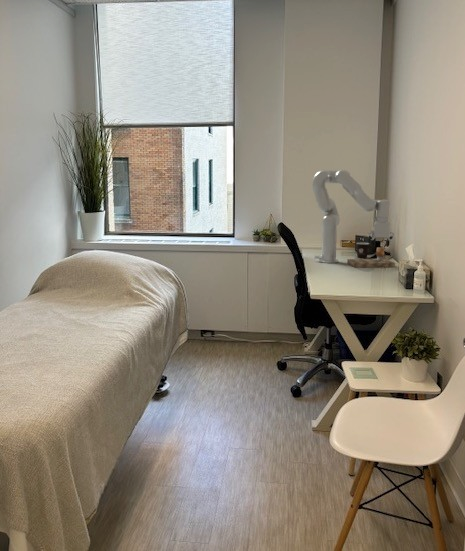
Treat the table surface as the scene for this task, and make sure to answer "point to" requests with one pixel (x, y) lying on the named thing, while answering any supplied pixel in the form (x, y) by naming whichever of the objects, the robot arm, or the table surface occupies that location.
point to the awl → (380, 254)
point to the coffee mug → (362, 250)
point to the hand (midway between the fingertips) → (379, 246)
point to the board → (370, 263)
